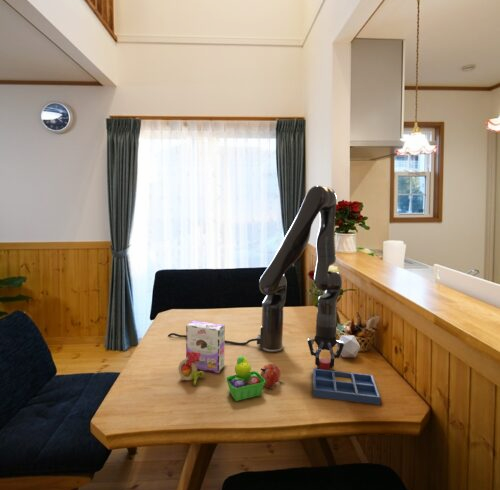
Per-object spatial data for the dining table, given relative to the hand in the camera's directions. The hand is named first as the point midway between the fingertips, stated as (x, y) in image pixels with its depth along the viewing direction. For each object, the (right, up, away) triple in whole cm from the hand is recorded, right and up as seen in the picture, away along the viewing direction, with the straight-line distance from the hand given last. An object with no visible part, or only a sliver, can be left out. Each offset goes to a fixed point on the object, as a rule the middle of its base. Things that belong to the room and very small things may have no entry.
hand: (324, 366), depth 133 cm
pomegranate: (-21, -1, -12) cm, 25 cm away
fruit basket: (-30, -1, -18) cm, 35 cm away
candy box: (-46, 0, -1) cm, 46 cm away
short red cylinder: (0, 0, 0) cm, 0 cm away
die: (+12, -1, +11) cm, 17 cm away
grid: (+4, -2, -14) cm, 14 cm away
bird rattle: (-50, 0, -12) cm, 51 cm away
